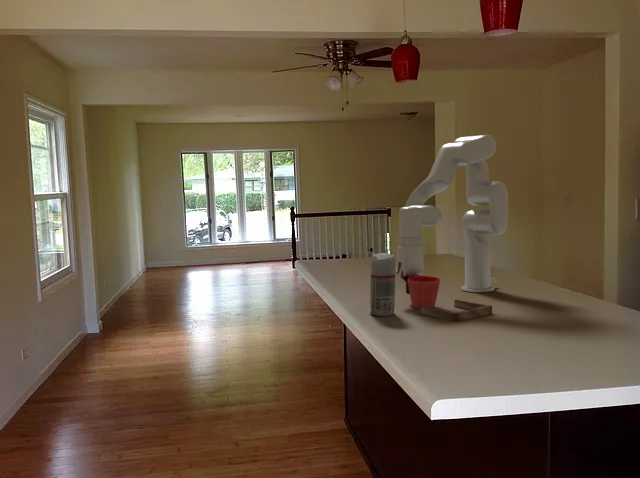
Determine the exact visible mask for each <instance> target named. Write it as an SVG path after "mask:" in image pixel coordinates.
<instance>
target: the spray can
mask: <svg viewBox="0 0 640 478" xmlns="http://www.w3.org/2000/svg"><path fill="white" fill-rule="evenodd" d="M370 263H371V264H370V278H369V279H370V281H369V282H370V300H369V301H370V303H369V304H370V311H369V313H370V315H373V316H377V317H390V316H394V315H395V306H396V305H395V304H396V303H395V300H396V256H395V255H394V254H390V253H388V252H380V253H373V254H372V256H371V262H370Z"/></svg>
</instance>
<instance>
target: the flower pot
mask: <svg viewBox="0 0 640 478" xmlns="http://www.w3.org/2000/svg"><path fill="white" fill-rule="evenodd" d="M440 280H441V279H440V278H439V277H436V276H431V275H422V276H413V277H409V278H408V286H409V292H410V294H409V297H410V302H411V306H412V307H413V308H415V309H421V306H427V307H431V308H435V306H436V301H437V298H438V293H439V288H440V283H441V281H440Z"/></svg>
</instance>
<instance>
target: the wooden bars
mask: <svg viewBox="0 0 640 478" xmlns="http://www.w3.org/2000/svg"><path fill="white" fill-rule="evenodd" d="M453 304H454V308H458V309H463V310H461V311H456V312H454V311H451V310H450V311H449V310H446V309H442V308H441V309H440V308H435V307H433V308H431V307H427V306H421V308H420V315H424V316H428V317H432V318H433V317H434V318H438V319H440V320H441V319H442V320H445V321H450V322H455V323H457V322H461V321H465V320H469V319H473V318H474V319H475V318H478V317H482V316H486V315H490V314H493V305H490V304H485V303H479V302H474V301H470V300H464V299H459V298H456V299H454V303H453Z"/></svg>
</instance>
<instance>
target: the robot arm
mask: <svg viewBox="0 0 640 478" xmlns="http://www.w3.org/2000/svg"><path fill="white" fill-rule="evenodd" d="M496 150H497V143H496V139H495V138H494V136H492V135H489V134H481V135H468V136H461V137H458V138H456V139H454V141H453V142H448V143H445V144H443V145H442V146H441V147H440V148H439V150H438V153H437V155H436V157H435V160H434V162H433V164H432V167H431V170H430V172H429V174H428V176H427V177H426V179H424V180H423V181H421V183H420V184H419V185H418V186H417V187H416V188H414V189H413V191H412V192H411V193H410V195H409V197H408V199H407V200H406V204H405V206H403V207H401V208H400V209H399V212H398V213H399V216H398V219H399V221H398V222H399V224H398V225H399V246H397V250H396V255H395V274H397V276H398V278H397V279H401V280H402V279H403V281H404V282H403V283H405V293H406V294H407V295H410V292H409V286H408V278H409V277H413V276H424V270H425V255H424V248H423V245H422V242H423V238H422V227H435V226H437V225H438V224H440V222H441V221H442V217H443V215H442V214H443V213H442V211H441V209H440V208H439V207H437V206H435V205H432V204H431V205H429V204H428V205H427V204H426V205H425V203H426V202H427V201H428V200H430V198H431V197H433V196H435V195H437V194H439V193H441V192H444V191H445V190H447V189H448V188H450V187H451V186H452V185H451V184H452V182H453V180H454V177H455V174H456V173H457V170H458V167H459V166H460V167H461V166H464V169H465V181H466V182H465V183H466V184H465V185H466V186H465V187H466V188H465V193H466V195H465V196H466V201H467V203H468V204H469V205H471V206H477V207H478V206H479V207H489V209H477V208H475V209H470V210H468V211H466V212H465V213H464V215H463V216H462V219H461V222H462V224H461V225H462V229H463V235H464V284H463V285H461V286H460V290H461V291H464V292H469V293H490V292H493V291H494V290H495V287H494V286H493V285H492V284H495V283H497V282H498V279H497V278H496V277H491V244H490V240H489V239H488V236H487V235H489V236H497V235H498V236H500V235H503V234H504V233H505V232H506V230H507V228H508V221H509V193H508V189H507V186H506V185H505V184H504V182H502V181H498V180H490V175H489V174H490V173H489V170H490V169H489V166H488V164H487V161H486V160H488V159H489V158H491V157H492V156H494V154H495V152H496Z"/></svg>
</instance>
